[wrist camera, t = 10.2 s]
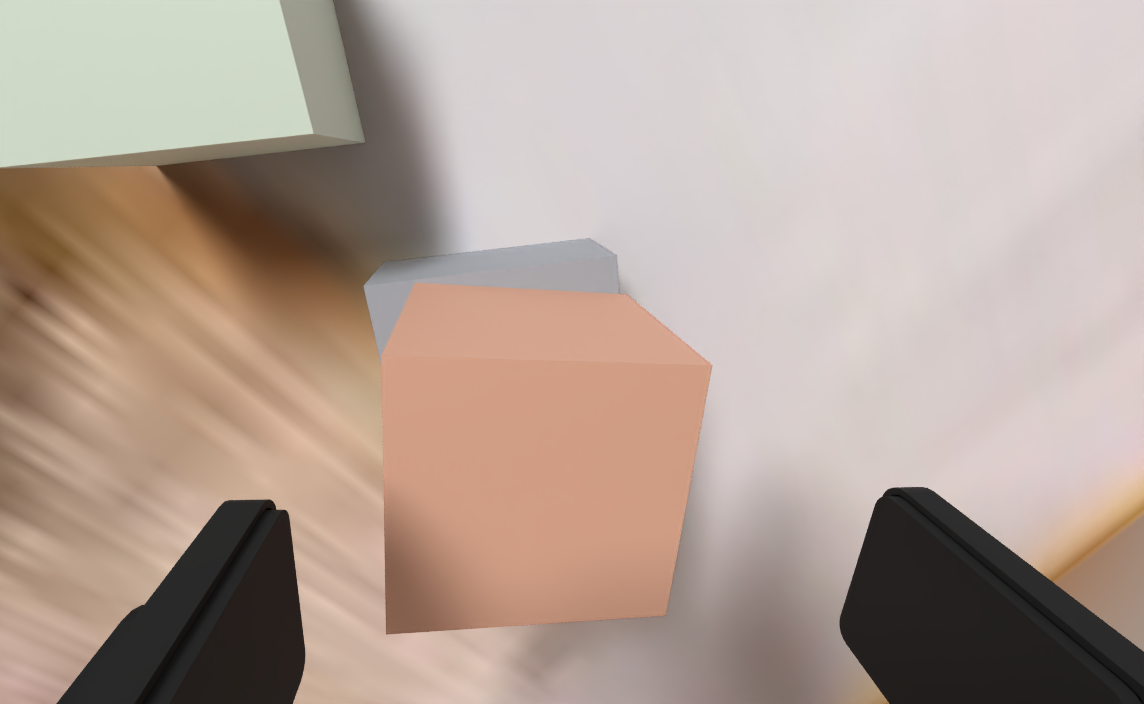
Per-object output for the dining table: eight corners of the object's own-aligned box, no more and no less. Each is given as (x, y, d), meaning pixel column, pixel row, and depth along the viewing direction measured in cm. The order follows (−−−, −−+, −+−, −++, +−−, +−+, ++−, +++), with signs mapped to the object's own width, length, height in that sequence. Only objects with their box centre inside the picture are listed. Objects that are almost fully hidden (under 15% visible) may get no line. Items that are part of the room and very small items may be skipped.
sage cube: (312, -94, 15) (215, -248, 9) (365, 142, 17) (313, 134, 11) (70, -80, 14) (-198, -240, 8) (158, 165, 16) (-9, 168, 10)
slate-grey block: (588, 237, 19) (616, 255, 15) (601, 413, 22) (629, 466, 18) (384, 260, 18) (363, 285, 14) (422, 443, 21) (412, 505, 17)
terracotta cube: (627, 294, 16) (712, 365, 10) (604, 473, 18) (665, 615, 12) (415, 282, 15) (382, 355, 9) (414, 475, 17) (386, 634, 11)
